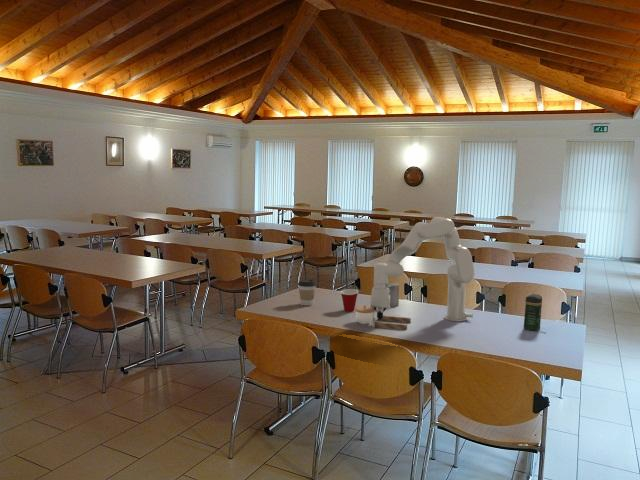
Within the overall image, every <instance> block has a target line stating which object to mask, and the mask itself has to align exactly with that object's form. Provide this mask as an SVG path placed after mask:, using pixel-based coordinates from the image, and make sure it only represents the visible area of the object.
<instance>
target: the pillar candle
mask: <svg viewBox="0 0 640 480" xmlns="http://www.w3.org/2000/svg"><path fill="white" fill-rule="evenodd" d="M388 284H390V285H391V286H390V287H388V288H389V290H390V308H398V307H399V304H400V303H399V302H400V301H399V299H400V283H398V282H394V281H388Z"/></svg>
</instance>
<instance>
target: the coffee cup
mask: <svg viewBox="0 0 640 480" xmlns="http://www.w3.org/2000/svg"><path fill="white" fill-rule="evenodd" d="M297 286H298V288H299V289H298V290H299V298H300V304H302V305H301V306H303V305H312V304H313V305H314V302H315V301H314V299H315V292H316V287H317V282H316V280H314V279H308V278H307V279H306V278H305V279H304V278H303V279H300V280H299V281H298V283H297ZM313 305H312V306H313Z"/></svg>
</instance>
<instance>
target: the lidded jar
mask: <svg viewBox="0 0 640 480" xmlns="http://www.w3.org/2000/svg"><path fill="white" fill-rule="evenodd" d="M354 312H355V313H354V315H355V319H356V321H358V323H359V324H361V325H369V324H371V322H372V321H373V318H375V312H376V310H375V309H373V308H370V306H366V305H363V306H362V305H361V306H355V309H354Z"/></svg>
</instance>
